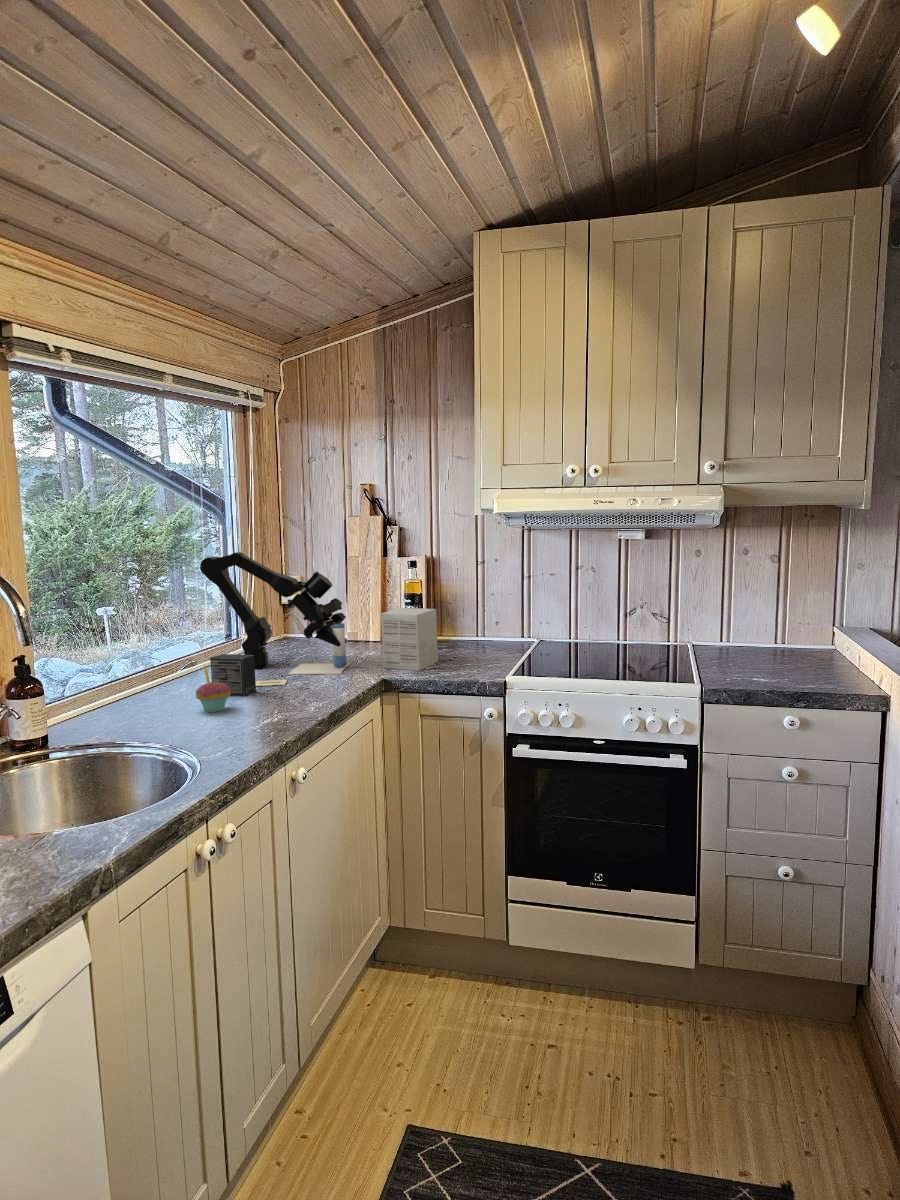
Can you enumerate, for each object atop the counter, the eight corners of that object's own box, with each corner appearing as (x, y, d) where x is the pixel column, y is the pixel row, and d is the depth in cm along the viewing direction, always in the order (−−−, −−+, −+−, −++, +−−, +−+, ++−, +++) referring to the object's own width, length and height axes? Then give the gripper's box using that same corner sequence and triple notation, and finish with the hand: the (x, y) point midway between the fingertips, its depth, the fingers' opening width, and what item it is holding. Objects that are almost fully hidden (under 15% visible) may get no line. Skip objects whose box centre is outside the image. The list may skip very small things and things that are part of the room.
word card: (252, 687, 222) (252, 685, 222) (255, 682, 228) (255, 680, 228) (285, 685, 223) (284, 684, 223) (287, 681, 229) (287, 679, 229)
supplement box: (402, 660, 255) (400, 607, 253) (438, 662, 250) (437, 608, 248) (382, 668, 244) (379, 612, 241) (419, 671, 238) (417, 614, 236)
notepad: (288, 674, 237) (288, 673, 237) (302, 664, 253) (302, 662, 253) (340, 674, 236) (340, 672, 236) (350, 663, 252) (350, 661, 252)
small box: (257, 691, 218) (255, 654, 216) (244, 696, 212) (242, 658, 210) (225, 689, 221) (223, 652, 220) (211, 694, 215) (208, 657, 214)
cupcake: (212, 715, 193) (209, 668, 191) (189, 711, 197) (186, 665, 196) (238, 707, 200) (235, 661, 198) (215, 704, 204) (212, 659, 203)
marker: (334, 666, 243) (332, 625, 241) (332, 664, 247) (330, 623, 245) (347, 665, 244) (345, 624, 242) (345, 663, 248) (344, 622, 246)
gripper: (310, 594, 235) (345, 631, 233) (339, 587, 252) (371, 622, 250) (288, 619, 238) (322, 656, 236) (318, 611, 256) (350, 645, 254)
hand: (342, 644), depth 244 cm, fingers closed on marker, 4 cm apart
